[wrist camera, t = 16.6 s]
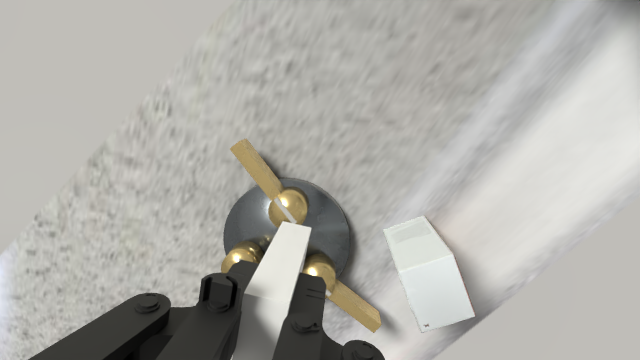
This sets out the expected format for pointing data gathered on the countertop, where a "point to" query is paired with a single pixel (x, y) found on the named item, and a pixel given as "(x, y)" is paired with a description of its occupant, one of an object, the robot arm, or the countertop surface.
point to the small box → (428, 275)
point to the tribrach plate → (322, 217)
